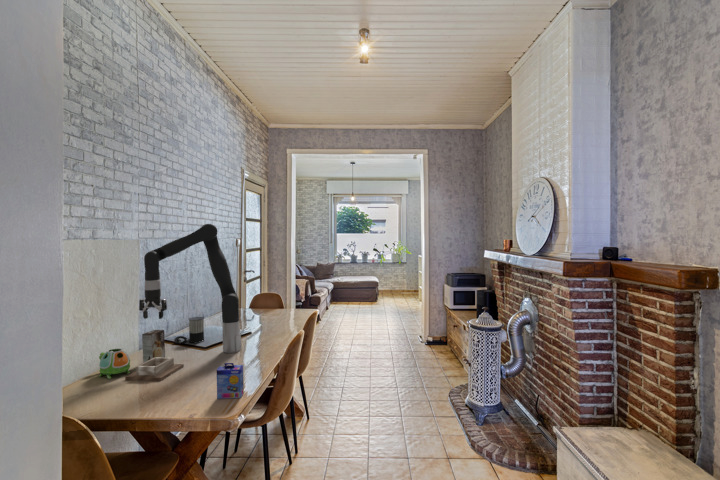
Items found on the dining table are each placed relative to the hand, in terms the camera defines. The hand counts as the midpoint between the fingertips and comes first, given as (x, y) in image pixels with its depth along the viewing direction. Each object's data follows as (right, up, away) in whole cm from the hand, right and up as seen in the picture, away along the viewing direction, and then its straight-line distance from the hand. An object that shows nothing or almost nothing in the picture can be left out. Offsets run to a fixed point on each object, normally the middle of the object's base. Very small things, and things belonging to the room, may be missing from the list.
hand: (153, 318), depth 200 cm
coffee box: (0, -23, 0) cm, 23 cm away
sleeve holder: (+11, -23, -17) cm, 31 cm away
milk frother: (+3, -23, +36) cm, 43 cm away
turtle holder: (-11, -24, -17) cm, 31 cm away
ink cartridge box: (+57, -23, -44) cm, 76 cm away
